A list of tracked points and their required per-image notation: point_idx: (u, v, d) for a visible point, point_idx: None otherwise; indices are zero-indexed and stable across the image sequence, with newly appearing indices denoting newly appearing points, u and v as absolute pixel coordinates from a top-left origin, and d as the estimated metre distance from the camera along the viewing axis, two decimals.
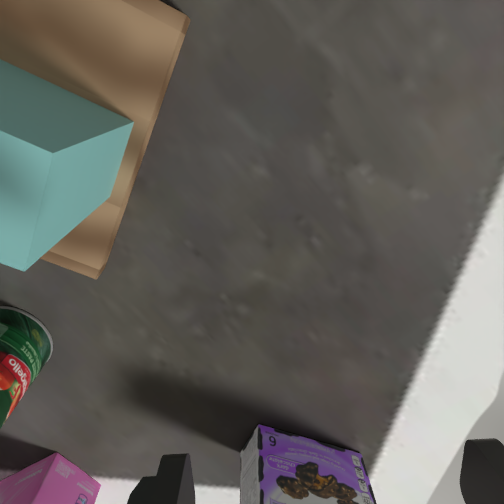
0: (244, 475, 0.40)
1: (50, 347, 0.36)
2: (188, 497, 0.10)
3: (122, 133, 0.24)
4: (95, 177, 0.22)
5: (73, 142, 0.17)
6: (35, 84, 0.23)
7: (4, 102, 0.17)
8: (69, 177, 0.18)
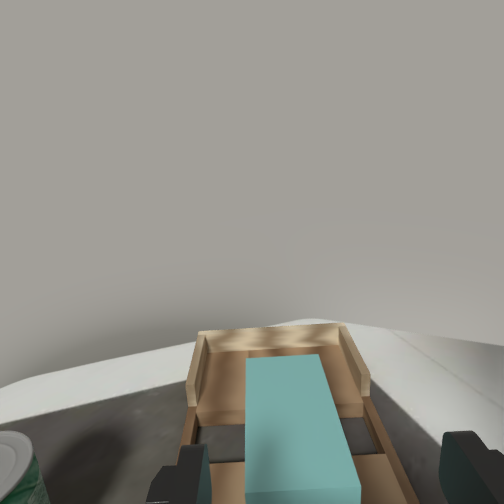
0: None
1: None
2: (206, 486, 0.10)
3: None
4: None
5: None
6: None
7: None
8: None
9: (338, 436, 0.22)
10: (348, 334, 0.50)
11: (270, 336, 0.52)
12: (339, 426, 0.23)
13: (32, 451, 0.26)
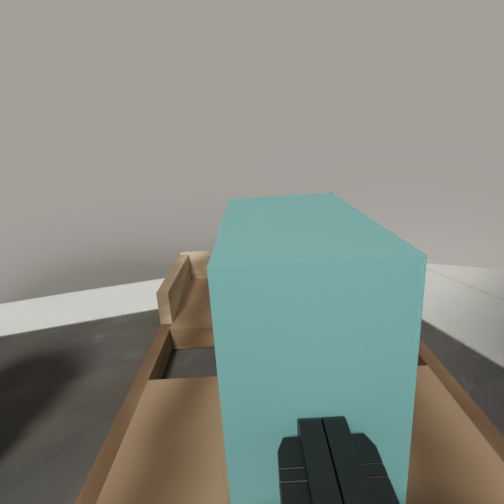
0: None
1: None
2: None
3: None
4: None
5: (418, 327, 0.11)
6: None
7: None
8: (359, 339, 0.11)
9: (373, 227, 0.13)
10: None
11: None
12: (373, 223, 0.14)
13: None
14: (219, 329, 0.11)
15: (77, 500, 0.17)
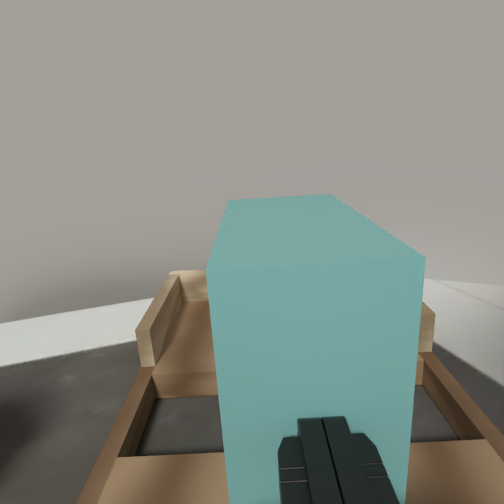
0: None
1: None
2: None
3: None
4: None
5: (417, 328, 0.11)
6: None
7: None
8: (357, 342, 0.11)
9: (372, 229, 0.13)
10: None
11: None
12: (371, 224, 0.14)
13: None
14: (218, 331, 0.11)
15: None
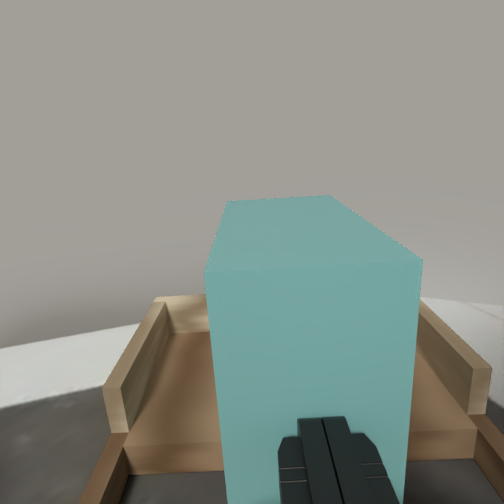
0: None
1: None
2: None
3: None
4: None
5: (414, 330, 0.11)
6: None
7: None
8: (355, 343, 0.11)
9: (370, 231, 0.13)
10: None
11: None
12: (370, 226, 0.14)
13: None
14: (216, 333, 0.11)
15: None
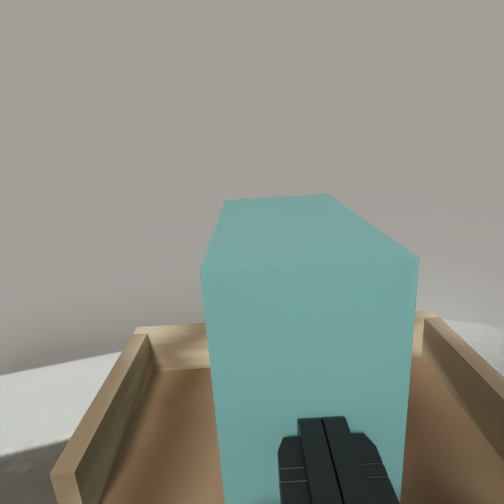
0: None
1: None
2: None
3: None
4: None
5: (411, 328, 0.11)
6: None
7: None
8: (352, 342, 0.11)
9: (367, 229, 0.13)
10: (454, 334, 0.23)
11: None
12: (367, 224, 0.14)
13: None
14: (213, 332, 0.11)
15: None
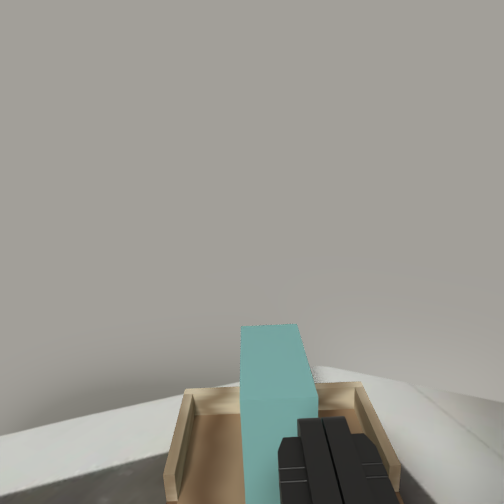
0: None
1: None
2: None
3: None
4: None
5: None
6: None
7: None
8: (295, 425, 0.29)
9: (306, 371, 0.31)
10: (367, 399, 0.41)
11: None
12: (307, 366, 0.32)
13: None
14: (243, 421, 0.28)
15: None
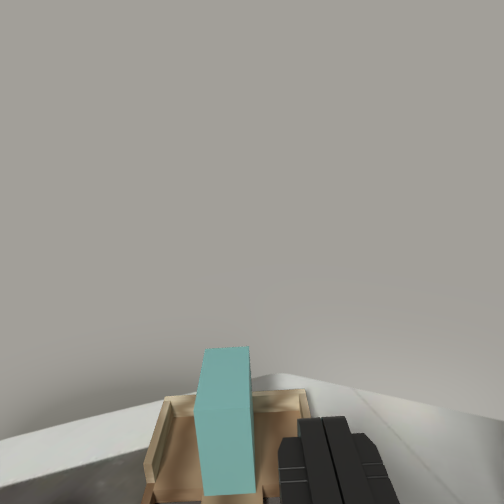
0: None
1: None
2: None
3: (249, 479, 0.42)
4: (227, 459, 0.41)
5: (250, 423, 0.40)
6: None
7: None
8: (234, 427, 0.40)
9: (246, 387, 0.42)
10: (306, 404, 0.52)
11: None
12: (248, 383, 0.43)
13: None
14: (196, 425, 0.40)
15: None
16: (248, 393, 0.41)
